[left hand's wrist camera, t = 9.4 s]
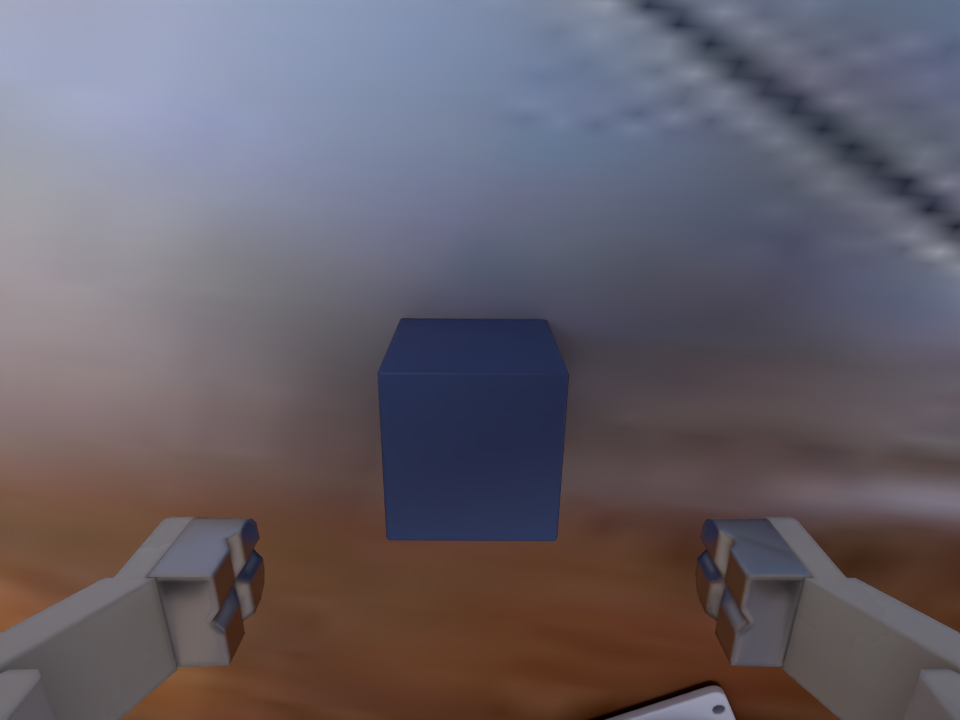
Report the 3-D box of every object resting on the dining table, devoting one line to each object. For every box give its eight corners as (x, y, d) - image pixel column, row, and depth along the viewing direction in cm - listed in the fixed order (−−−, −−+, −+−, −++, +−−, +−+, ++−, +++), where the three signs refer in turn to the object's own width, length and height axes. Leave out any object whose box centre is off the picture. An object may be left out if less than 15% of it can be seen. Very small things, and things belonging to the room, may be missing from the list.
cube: (547, 319, 19) (569, 372, 14) (539, 456, 20) (557, 542, 16) (400, 317, 19) (376, 371, 14) (405, 456, 20) (385, 541, 16)
